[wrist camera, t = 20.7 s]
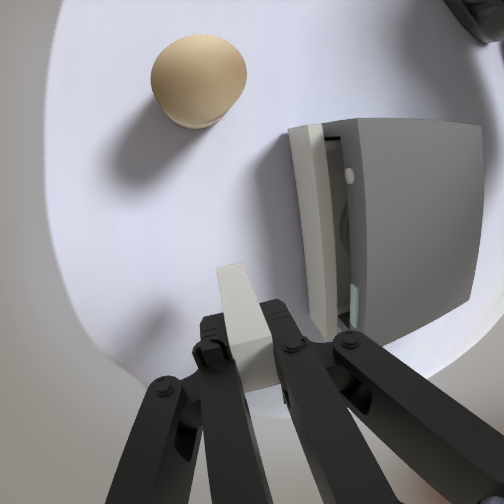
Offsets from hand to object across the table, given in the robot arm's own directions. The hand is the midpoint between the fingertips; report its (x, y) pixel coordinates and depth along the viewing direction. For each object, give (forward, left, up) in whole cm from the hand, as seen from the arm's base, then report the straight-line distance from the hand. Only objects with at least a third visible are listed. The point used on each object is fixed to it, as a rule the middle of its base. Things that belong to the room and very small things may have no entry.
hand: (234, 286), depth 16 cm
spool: (-12, 0, -7) cm, 13 cm away
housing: (0, +15, -7) cm, 17 cm away
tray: (0, +13, -6) cm, 15 cm away
